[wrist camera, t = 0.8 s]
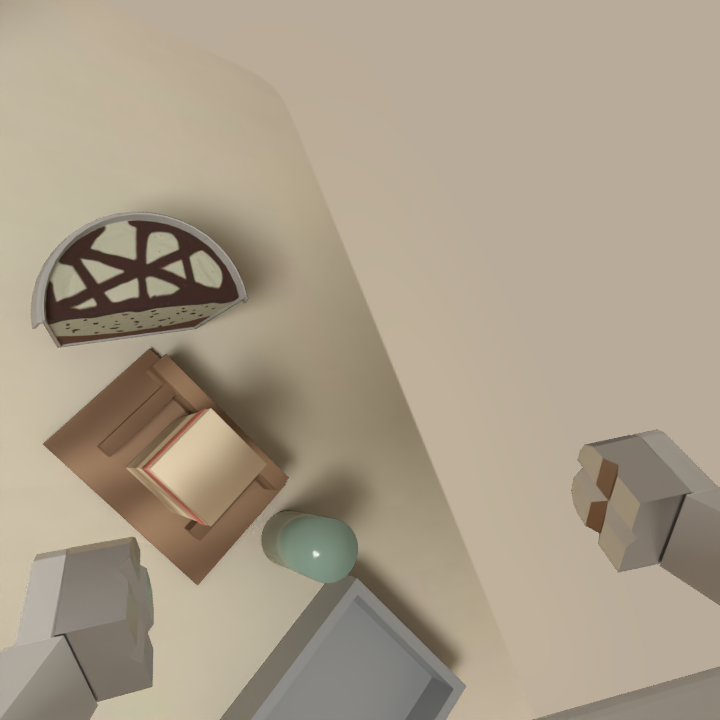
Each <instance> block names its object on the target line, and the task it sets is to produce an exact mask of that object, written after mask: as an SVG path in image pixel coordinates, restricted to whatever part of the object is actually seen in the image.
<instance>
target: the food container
mask: <svg viewBox="0 0 720 720" xmlns="http://www.w3.org/2000/svg"><path fill="white" fill-rule="evenodd" d="M242 300H243V303H246V302H247V300H248V296H247V293H246V289H245V286H244V283H243V281H242V279H241V277H240V274H239V272H238V270H237V269H236V267H235V265H234V264H233V262H232V261H231V259H230V258H229V257H228V255H227V254H226V253H225V252H224V251H223V250H222V248H221V247H220V246H219V245H218V244H217V243H215V242H214V241H213V240H212V239H211V238H210V237H209V236H207V235H206V234H204V233H203V232H201V231H200V230H198V229H197V228H195V227H194V226H191V225H189V224H187V223H185V222H183V221H181V220H178V219H175V218H172V217H169V216H166V215H161V214H156V213H150V212H127V213H118V214H113V215H110V216H106V217H103V218H99V219H97V220H95V221H93V222H91V223H88V224H86V225H84V226H83V227H81V228H80V229H78V230H77V231H75V232H74V233H72V234H71V235H70V236H68V237H67V238H66V239H65V240H64V241H63V242H62V243H61V244H60V245H59V246H58V247H57V248H56V249H55V250H54V251H53V252H52V253H51V255H50V256H49V258H48V259H47V260H46V262H45V263H44V265H43V267H42V269H41V271H40V273H39V275H38V278H37V280H36V284H35V287H34V291H33V295H32V304H31V321H32V329H35V328H36V327H37V326H38V325H39V324H41V323H43V324H44V326H45V327H46V329H47V331H48V332H49V334H50V336H51V337H52V339H53V341H54V342H55V344H56V346H57V347H58V348H59V347H67V346H74V345H81V344H89V343H96V342H104V341H111V340H118V339H126V338H133V337H140V336H148V335H155V334H163V333H170V332H177V331H185V330H192V329H197V328H198V327H200V326H201V325H203V324H205V323H206V322H208V321H209V320H211V319H213V318H214V317H216V316H217V315H219V314H221V313H222V312H224V311H226V310H227V309H229V308H230V307H232V306H234V305H235V304H237V303H238V302H240V301H242Z"/></svg>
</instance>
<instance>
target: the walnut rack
mask: <svg viewBox="0 0 720 720" xmlns="http://www.w3.org/2000/svg"><path fill="white" fill-rule="evenodd" d="M210 408H211V409H212V410H213V411H214V412H215V413H216V414H217V415H218V416H219V417H220V418H221V419H222V420H223V421H224V422H225V423H226V424H227V425H228V426H229V427H230V428H231V429H232V430H233V431H234V432H235V433H236V434H237V435H238V436H239V437H240V438H241V439H242V440H243V441H244V442H245V443H246V444H247V445H248V446H249V447H250V448H251V449H252V450H253V451H254V452H255V453H256V454H257V455H258V456H259V457H260V458H261V459H262V460H263V461H264V462H265V463H266V464H267V465H266V466H265V467H264V468H263V469H262V470H261V472H260V473H259V474H258V475H257V476H256V477H255V478H254V479H253V480H252V482H251V483H250V484H249V485H248V486H247V487H246V488H245V489H244V490H243V492H242V493H241V494H240V495H239V496H238V497H237V498H236V499H235V500H234V501H233V503H232V504H231V505H230V506H229V507H228V508H227V509H226V510H225V511H224V513H223V514H222V515H221V516H220V517H219V518H218V519H217V520H216V521H215V523H214V524H213V525H212V526H208V525H206V526H205V525H202V524H199V523H198V522H197V521H195V520H192V519H189V518H186V517H184V516H181V515H178V514H176V513H173V512H172V511H171V510H170V509H169V508H168V507H167V506H165V505H164V504H163V503H162V502H161V501H160V500H159V499H158V498H157V497H156V496H155V495H154V494H153V493H152V492H151V491H149V490H148V489H147V488H146V487H145V486H144V485H143V484H142V483H141V482H140V481H139V480H138V479H137V478H136V477H135V476H133V475H132V474H131V473H130V472H129V471H128V470H127V469H126V468H125V467H126V466H127V465H128V464H129V463H130V462H131V461H132V460H133V459H134V458H135V457H137V456H138V455H139V454H140V453H141V452H142V451H143V450H144V449H145V448H146V447H147V446H148V445H149V444H150V443H151V442H152V441H153V440H154V439H155V438H156V437H157V436H158V435H159V434H160V433H161V432H162V431H163V430H164V429H165V428H166V427H167V426H168V425H169V424H170V423H171V422H172V421H173V420H175V419H178V418H182V417H185V416H188V415H191V414H194V413H197V412H199V411H200V410H203V409H210ZM43 445H44V446H45V447H47V448H48V449H49V450H50V451H51V452H52V453H53V454H54V455H55V456H56V457H57V458H59V459H60V460H61V461H62V462H63V463H64V464H65V465H66V466H67V467H68V468H70V469H71V470H72V471H73V472H74V473H75V474H76V475H77V476H78V477H79V478H80V479H82V480H83V481H84V482H85V483H86V484H87V485H88V486H89V487H90V488H91V489H92V490H94V491H95V492H96V493H97V494H98V495H99V496H100V497H101V498H102V499H103V500H105V501H106V502H107V503H108V504H109V505H110V506H111V507H112V508H113V509H114V510H115V511H117V512H118V513H119V514H120V515H121V516H122V517H123V518H124V519H125V520H126V521H127V522H129V523H130V524H131V525H132V526H133V527H134V528H135V529H136V530H137V531H138V532H140V533H141V534H142V535H143V536H144V537H145V538H146V539H147V540H148V541H149V542H150V543H152V544H153V545H154V546H155V547H156V548H157V549H158V550H159V551H160V552H161V553H162V554H164V555H165V556H166V557H167V558H168V559H169V560H170V561H171V562H172V563H173V564H175V565H176V566H177V567H178V568H179V569H180V570H181V571H182V572H183V573H184V574H185V575H187V576H188V577H189V578H190V579H191V580H192V581H193V582H194V583H195V584H197V585H198V584H199V583H200V582H201V581H202V580H203V579H204V578H205V576H206V575H207V574H208V573H209V572H210V571H211V569H212V568H213V567H214V566H215V565H216V564H217V563H218V561H219V560H220V559H221V558H222V557H223V556H224V555H225V553H226V552H227V551H228V550H229V549H230V548H231V547H232V545H233V544H234V543H235V542H236V541H237V540H238V539H239V537H240V536H241V535H242V534H243V533H244V532H245V530H246V529H247V528H248V527H249V526H250V525H251V524H252V522H253V521H254V520H255V519H256V518H257V517H258V516H259V514H260V513H261V512H262V511H263V510H264V509H265V508H266V506H267V505H268V504H269V503H270V502H271V501H272V500H273V498H274V497H275V496H276V495H277V494H278V493H279V491H280V490H281V489H282V488H283V487H284V486H285V484H284V483H285V482H286V481H287V479H288V478H289V477H288V476H287V475H286V474H285V473H284V472H283V471H282V470H281V469H280V468H279V467H278V466H277V465H276V464H275V463H274V462H273V461H272V460H271V459H270V458H269V457H268V456H267V455H266V454H265V453H264V452H263V451H262V450H261V449H260V448H259V447H258V446H257V445H256V444H255V443H254V442H253V441H252V440H251V439H250V438H249V437H248V436H247V435H246V434H245V433H244V432H243V431H242V430H241V429H240V428H239V427H238V426H237V425H236V424H235V423H234V422H233V421H232V420H231V419H230V418H229V417H228V416H227V415H226V414H225V413H224V412H223V411H222V410H221V409H220V408H219V407H218V406H217V405H216V404H215V403H214V402H213V401H212V400H211V399H210V398H209V397H208V396H207V395H206V394H205V393H204V392H203V391H202V390H201V389H200V388H199V387H198V386H197V385H196V384H195V383H194V382H193V381H192V380H191V379H190V378H189V377H188V376H187V375H186V374H185V373H184V372H183V371H182V370H181V369H180V368H179V367H178V365H177V364H176V363H175V362H174V361H173V360H172V359H171V358H170V357H169V356H168V355H167V354H165V355H164V356H163V357H162V358H159V357H158V356H157V355H156V354H155V353H154V352H153V351H152V350H151V349H149V350H147V351H146V352H145V353H144V354H143V355H142V356H141V357H140V358H139V359H137V360H136V361H135V362H134V363H133V364H132V365H131V366H130V367H129V368H127V369H126V370H125V371H124V372H123V373H122V374H121V375H120V376H118V377H117V378H116V379H115V380H114V381H113V382H112V383H111V384H110V385H108V386H107V387H106V388H105V389H104V390H103V391H102V392H101V393H99V394H98V395H97V396H96V397H95V398H94V399H93V400H92V401H91V402H89V403H88V404H87V405H86V406H85V407H84V408H83V409H82V410H81V411H79V412H78V413H77V414H76V415H75V416H74V417H73V418H72V419H70V420H69V421H68V422H67V423H66V424H65V425H64V426H63V427H62V428H60V429H59V430H58V431H57V432H56V433H55V434H54V435H53V436H51V437H50V438H49V439H48V440H47V441H46V442H45V443H44V444H43Z"/></svg>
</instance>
